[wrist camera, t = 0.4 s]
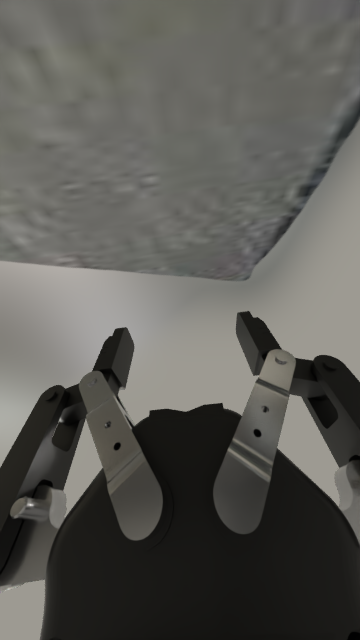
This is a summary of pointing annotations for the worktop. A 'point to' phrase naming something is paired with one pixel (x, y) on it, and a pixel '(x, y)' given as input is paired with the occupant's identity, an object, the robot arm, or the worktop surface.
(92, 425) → the robot arm
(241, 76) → the worktop surface
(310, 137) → the worktop surface
